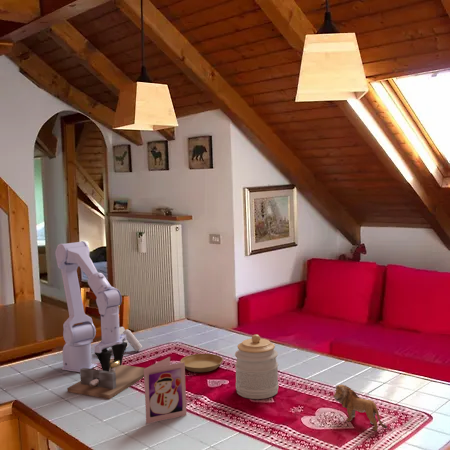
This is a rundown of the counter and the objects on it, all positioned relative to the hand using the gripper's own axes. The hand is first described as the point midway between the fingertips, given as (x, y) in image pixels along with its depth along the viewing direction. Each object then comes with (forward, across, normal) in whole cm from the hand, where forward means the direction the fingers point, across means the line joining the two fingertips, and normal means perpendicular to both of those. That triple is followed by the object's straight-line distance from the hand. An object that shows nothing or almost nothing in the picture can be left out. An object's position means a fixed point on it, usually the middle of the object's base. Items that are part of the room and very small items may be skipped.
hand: (112, 368), depth 182 cm
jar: (+5, +8, -47) cm, 48 cm away
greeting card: (+5, -16, -29) cm, 34 cm away
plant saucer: (+5, +22, -21) cm, 31 cm away
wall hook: (+5, +28, +14) cm, 32 cm away
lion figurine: (+5, -2, -80) cm, 80 cm away
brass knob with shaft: (+2, -4, 0) cm, 5 cm away
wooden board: (+4, -1, 0) cm, 4 cm away
